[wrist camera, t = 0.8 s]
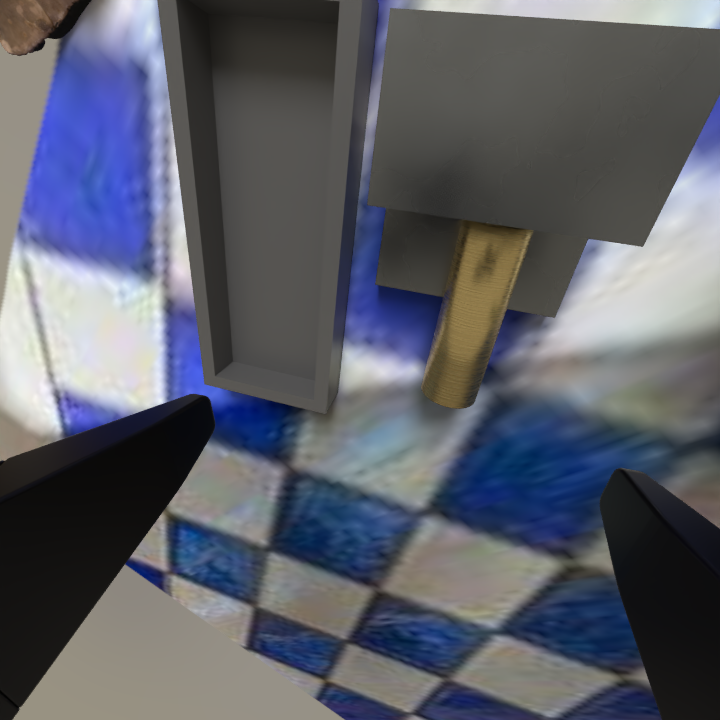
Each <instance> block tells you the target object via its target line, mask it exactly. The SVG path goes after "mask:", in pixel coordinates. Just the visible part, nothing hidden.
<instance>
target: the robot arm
mask: <svg viewBox="0 0 720 720" xmlns="http://www.w3.org/2000/svg"><path fill="white" fill-rule="evenodd" d="M214 429H215V419H214V415H213V410H212V406H211V401H210V399H209V398H208V397H207V396H203V395H198V394H189V395H186V396H184V397H181V398H178V399H175V400H172V401H169V402H167V403H164V404H161V405H158V406H155V407H152V408H150V409H147V410H144V411H141V412H138V413H135V414H133V415H130V416H127V417H124V418H121V419H118V420H116V421H113V422H110V423H107V424H104V425H101V426H99V427H96V428H93V429H90V430H87V431H84V432H82V433H79V434H76V435H73V436H70V437H67V438H65V439H62V440H59V441H56V442H53V443H50V444H48V445H45V446H42V447H39V448H36V449H33V450H31V451H28V452H25V453H22V454H19V455H16V456H14V457H11V458H8V459H7V460H6V461H0V720H12V719H13V718H14V717H15V715H16V714H17V713H18V711H19V707H21V706H22V705H23V704H24V702H25V701H26V700H27V698H28V697H29V696H30V694H31V693H32V691H33V690H34V689H35V687H36V686H37V685H38V683H39V682H40V680H41V679H42V678H43V676H44V675H45V674H46V672H47V671H48V669H49V668H50V667H51V665H52V664H53V662H54V661H55V660H56V658H57V657H58V656H59V654H60V653H61V651H62V650H63V649H64V647H65V646H66V645H67V643H68V642H69V640H70V639H71V638H72V636H73V635H74V633H75V632H76V631H77V629H78V628H79V627H80V625H81V624H82V623H83V621H84V620H85V618H86V617H87V616H88V614H89V613H90V612H91V610H92V609H93V607H94V606H95V604H96V603H97V601H98V600H99V599H100V598H101V596H102V595H103V593H104V592H105V591H106V589H107V588H108V587H109V585H110V584H111V583H112V581H113V580H114V578H115V577H116V576H117V574H118V573H119V572H120V570H121V569H122V567H123V566H124V565H125V563H126V562H127V560H128V559H129V558H130V556H131V555H132V554H133V552H134V551H135V549H136V548H137V547H138V545H139V544H140V543H141V541H142V540H143V538H144V537H145V536H146V534H147V533H148V531H149V530H150V529H151V527H152V526H153V525H154V523H155V522H156V520H157V519H158V518H159V516H160V515H161V514H162V512H163V511H164V509H165V508H166V507H167V505H168V504H169V503H170V501H171V500H172V498H173V497H174V496H175V494H176V493H177V491H178V490H179V488H180V487H181V486H182V484H183V482H184V481H185V479H186V478H187V476H188V474H189V473H190V471H191V469H192V468H193V466H194V464H195V462H196V461H197V459H198V457H199V456H200V454H201V452H202V451H203V449H204V447H205V445H206V444H207V442H208V440H209V439H210V437H211V435H212V434H213V431H214ZM600 511H601V515H602V520H603V524H604V529H605V533H606V538H607V542H608V547H609V551H610V556H611V560H612V565H613V569H614V574H615V578H616V582H617V586H618V589H619V592H620V596H621V599H622V602H623V605H624V608H625V611H626V614H627V617H628V620H629V623H630V626H631V629H632V632H633V635H634V638H635V641H636V644H637V647H638V650H639V653H640V656H641V659H642V662H643V665H644V668H645V671H646V673H647V676H648V679H649V682H650V685H651V688H652V691H653V694H654V697H655V700H656V703H657V706H658V709H659V712H660V715H661V718H662V720H720V529H719V528H718V527H716V526H715V525H714V524H712V523H711V522H710V521H708V520H707V519H706V518H704V517H703V516H702V515H700V514H699V513H698V512H696V511H695V510H694V509H692V508H691V507H690V506H688V505H687V504H685V503H684V502H683V501H681V500H680V499H679V498H677V497H676V496H675V495H673V494H672V493H671V492H669V491H668V490H667V489H665V488H664V487H663V486H661V485H660V484H658V483H657V482H656V481H654V480H653V479H652V478H650V477H649V476H648V475H646V474H645V473H643V472H640V471H635V470H629V469H624V468H619V469H616V470H615V471H614V472H613V474H612V475H611V477H610V479H609V481H608V483H607V485H606V487H605V489H604V491H603V493H602V495H601V498H600Z"/></svg>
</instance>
